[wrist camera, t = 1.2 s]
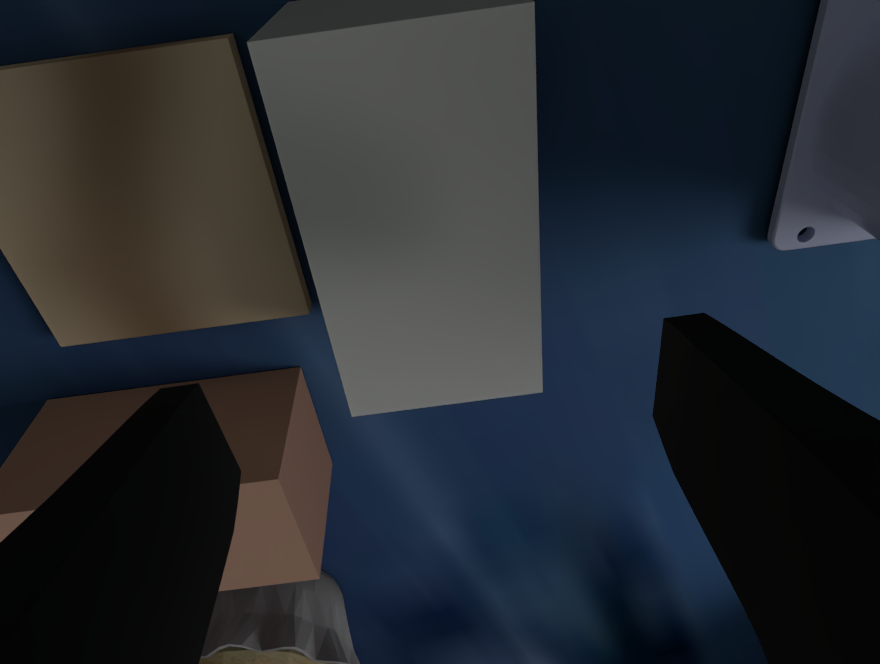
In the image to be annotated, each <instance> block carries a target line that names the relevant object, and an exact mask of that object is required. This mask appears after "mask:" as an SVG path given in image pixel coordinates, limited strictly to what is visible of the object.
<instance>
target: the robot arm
mask: <svg viewBox="0 0 880 664" xmlns="http://www.w3.org/2000/svg"><path fill="white" fill-rule="evenodd" d="M806 227H808V228H807V230H806V232H805V233H803V234H802V235H800V236H797V235H798V234H799V232H800V231H801V230H802V229H803V228H806ZM868 239H878V240H879V241H880V0H821V2H820V6H819V10H818V15H817V19H816V24H815V28H814V32H813V37H812V41H811V46H810V50H809V54H808V59H807V63H806V68H805V72H804V76H803V81H802V85H801V89H800V94H799V98H798V103H797V107H796V111H795V116H794V120H793V125H792V129H791V133H790V138H789V142H788V147H787V151H786V155H785V160H784V164H783V168H782V173H781V177H780V182H779V186H778V190H777V195H776V199H775V204H774V208H773V212H772V217H771V221H770V226H769V230H768V241H769V243H770V244H771V245H772V246H773V247H774V248H776V249H778V250H793V249H800V248H808V247H815V246H823V245H831V244H838V243H846V242H853V241H861V240H868ZM653 418H654V421H655V424H656V427H657V429H658V432H659V435H660V438H661V441H662V444H663V446H664V449H665V452H666V454H667V457H668V460H669V462H670V465H671V467H672V470H673V473H674V475H675V477H676V479H677V481H678V483H679V485H680V487H681V489H682V491H683V492H684V494H685V496H686V498H687V500H688V502H689V504H690V506H691V508H692V510H693V512H694V514H695V516H696V518H697V520H698V521H699V523H700V525H701V527H702V529H703V531H704V533H705V535H706V537H707V539H708V541H709V542H710V544H711V546H712V548H713V550H714V552H715V554H716V556H717V558H718V560H719V561H720V563H721V565H722V567H723V569H724V571H725V573H726V575H727V577H728V579H729V580H730V582H731V584H732V586H733V588H734V590H735V592H736V594H737V596H738V598H739V600H740V601H741V603H742V605H743V607H744V609H745V612H746V614H747V616H748V618H749V620H750V622H751V624H752V626H753V628H754V630H755V633H756V635H757V637H758V639H759V641H760V644H761V646H762V649H763V651H764V654H765V656H766V658H767V661H768V663H769V664H880V421H879V420H878V419H876V418H874V417H872V416H870V415H869V414H867V413H865V412H863V411H862V410H860V409H858V408H857V407H855V406H853V405H851V404H850V403H848V402H846V401H845V400H843V399H841V398H840V397H838V396H836V395H835V394H833V393H831V392H830V391H828V390H826V389H825V388H823V387H821V386H820V385H818V384H816V383H815V382H813V381H812V380H810V379H808V378H807V377H805V376H804V375H802V374H800V373H799V372H797V371H796V370H794V369H792V368H791V367H789V366H788V365H786V364H784V363H783V362H781V361H780V360H778V359H777V358H775V357H774V356H772V355H770V354H769V353H767V352H766V351H764V350H763V349H761V348H760V347H758V346H756V345H755V344H753V343H752V342H750V341H749V340H747V339H746V338H744V337H742V336H741V335H739V334H738V333H736V332H735V331H733V330H732V329H730V328H728V327H727V326H725V325H724V324H722V323H720V322H719V321H717V320H715V319H714V318H712V317H710V316H709V315H707V314H705V313H699V314H692V315H685V316H678V317H671V318H664V321H663V329H662V338H661V347H660V356H659V365H658V374H657V382H656V391H655V400H654V409H653ZM240 480H241V469H240V467H239V465H238V463H237V461H236V459H235V457H234V455H233V453H232V451H231V449H230V447H229V444H228V442H227V440H226V438H225V436H224V434H223V432H222V430H221V428H220V426H219V424H218V422H217V420H216V418H215V415H214V413H213V411H212V409H211V407H210V405H209V403H208V401H207V399H206V397H205V395H204V393H203V391H202V389H201V386H200V384H199V383H196V384H188V385H181V386H174V387H167V388H160V389H159V390H158V391H157V392H156V393H155V394H154V395H153V396H151V397H150V398H149V399H148V400H147V401H146V402H145V403H144V404H143V405H142V406H141V407H140V408H139V409H138V410H137V411H136V412H134V413H133V414H132V415H131V416H130V417H129V418H128V419H127V420H126V421H125V422H124V423H123V424H122V425H121V426H120V427H119V428H118V429H117V430H116V431H115V432H114V433H113V434H112V435H111V436H110V437H109V438H108V439H107V440H106V441H105V442H104V443H103V444H102V445H101V446H100V447H99V448H98V449H97V450H96V451H95V452H94V453H93V454H92V455H91V456H90V457H89V458H88V459H87V460H86V461H85V462H84V463H83V464H82V465H81V466H80V467H79V468H78V469H77V470H76V471H75V472H74V473H73V474H72V475H71V476H70V477H69V478H68V479H67V480H66V481H65V482H64V483H63V484H62V485H61V486H60V487H59V488H58V489H57V490H56V491H55V492H54V493H53V494H52V495H51V496H50V497H49V498H48V499H47V500H46V501H45V502H43V503H42V504H41V505H40V506H39V507H38V508H37V509H36V510H35V511H34V512H33V513H32V514H30V515H29V516H28V517H27V518H26V519H25V520H24V521H23V522H22V523H21V524H20V525H19V526H17V527H16V528H15V529H14V530H13V531H12V532H11V533H10V534H9V535H8V536H7V537H6V538H5V539H3V540H2V541H1V542H0V664H199V661H200V658H201V654H202V650H203V647H204V643H205V639H206V635H207V632H208V628H209V624H210V621H211V617H212V613H213V609H214V606H215V602H216V598H217V595H218V591H219V587H220V584H221V580H222V576H223V572H224V568H225V564H226V561H227V557H228V553H229V549H230V545H231V541H232V537H233V533H234V527H235V520H236V513H237V506H238V498H239V489H240Z"/></svg>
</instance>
